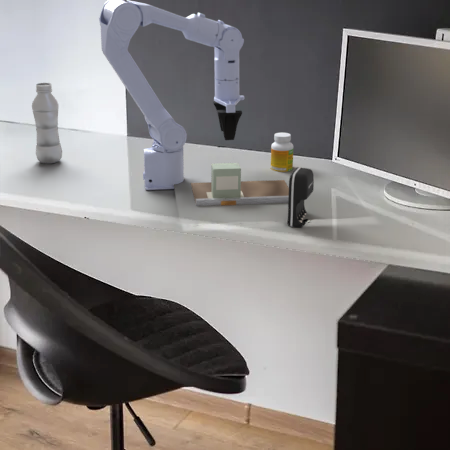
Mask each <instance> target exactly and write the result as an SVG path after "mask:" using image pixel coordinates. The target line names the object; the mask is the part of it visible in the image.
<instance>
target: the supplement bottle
mask: <svg viewBox="0 0 450 450" xmlns="http://www.w3.org/2000/svg"><path fill="white" fill-rule="evenodd" d="M273 139H274V142H273V143H271V147H270V169H271V170H272V171H274V172H279V173H280V172H281V173H285V172H290V171H293V169H294V167H293V165H294V144H293V143H292V142H291V140H292V135H291V133H288V132H276V133H274V137H273Z"/></svg>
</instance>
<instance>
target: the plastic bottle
mask: <svg viewBox="0 0 450 450" xmlns="http://www.w3.org/2000/svg"><path fill="white" fill-rule="evenodd" d="M35 87H36V88H35V91H36V93H37V94H36V95H35V97H34V99H33V101H32V104H31V108H32V109H31V110H32V114H33V119H34V123H35V129H36V130H35V131H36V145H35V156H36V158H37V159H36V160H37V161H38V162H39V163H41V164H54V163H58V162H60V161H61V159H62V157H63V148H62V145H61V142H60V135H59V127H58V126H59V123H58V122H59V103H58V100H57V99H56V97H55V96H54V94H53V93H52V92H53V88H52V83H50V82H38V83H36V86H35Z"/></svg>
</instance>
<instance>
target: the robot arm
mask: <svg viewBox="0 0 450 450" xmlns="http://www.w3.org/2000/svg"><path fill="white" fill-rule="evenodd" d="M99 14H100V15H99V17H98V20H99V25H100V40H101V41H100V42H101V51H102V53H103V55H104V56H105V58H106V60H107V62H108V63H109V64H110V66H111V68H112V69H113V70H114V72H115V73H116V75H117V77H118V78H119V79H120V82H121V83H122V84H123V85H124V87H125V89H126V90H127V92H128V93H129V95H130V96H131V98H132V99H133V101H134V103H135V104H136V106H137V107H138V109H139V110H140V112H141V113H142V114H143V116H144V120H145V122H146V123H147V127H148V133H149V135H150V137H151V138H152V139H153V142H152V145H151V147H147V148H143V169H144V171H143V172H142V178H143V180H144V190H146V191H152V190H155V191H157V190H158V191H159V190H175V186H174V185H177V184H181V183H183V182H184V180H185V177H184V176H185V175H184V174H185V173H184V169H185V167H184V146H185V144H186V142H187V138H188V135H187V131H186V129H185V127H184V126H182V125H181V124H179V123H177V122H176V121H175V119H174V118H173V116H172V115H171V114H170V113H169V112H168V111H167V109H166V108H165V107H164V106H163V104H162V102H161V101H160V99H159V97H158V95H157V94H156V93H155V91H154V90H153V88H152V87H151V85H150V84H149V81H148V80H147V79H146V77H145V75H144V73H143V72H142V70H141V69H140V67H139V66H138V64H137V63H136V61H135V60H134V58H133V57H132V55H131V53H130V52H129V50H128V49H129V46H130V42H131V39H132V37H133V36H134V35H135V34H136V31H138V29H139V27H142V28H144V27H146V26H149V25H150V24H155V25H158V26H162V27H165V28H169V29H173V30H176V31H180V32H182V34H183V36H184V38H185V40H188V41H190V42H191V41H192V42H195V43H196V44H197V43H198V44H200V45H201V44H202V45H205V46H207V47H211V48H212V47H213V48H214V49H213V51H214V60H213V61H214V97H213V101H212V104H213V105H214V107H215V110H216V113H217V117H218V121H219V122H218V123H219V128H220V131H221V132H222V134H223V138H224V140H225V141H234V140H235V137H236V133H237V128H238V124H239V120H240V119H241V116H242V115H243V111H242V110H236V107H237V104H238V103H239V102H240V101H244V100H245V95H240V51H241V49H242V48H243V45H244V43H245V39H244V38H243V35H242V32H241V31H240V29H238V28H237V27H235V26H233V25H230V24H226V23H225V22H224V21H223V20H220V19H218V20H214V19H211V18H207V17H206V14H204V13H201V12H197V14H195V13H191V14H190V15H188V16H186V17H185V16H182V15H179V14H177V13H173V12H171V11H168V10H166V9H163V8H159V7H157V6H154V5H151V4H148V3H144V2H138V1H134V0H126V1H125V0H107V1H105V2H104V4H103V6H102V7H101V11H100V13H99Z"/></svg>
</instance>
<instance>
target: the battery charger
mask: <svg viewBox="0 0 450 450" xmlns="http://www.w3.org/2000/svg"><path fill="white" fill-rule="evenodd" d="M288 179H289V180H288V187H289V198H288V203H287V205H288V206H287V209H288V210H287V212H288V213H287V226H288V227H292V228H293V227H294V228H296V227H297V228H301V227H303V226H304V225H305V224H306V223H307V221H309V218H305V217H306V216H305V215H307V214H308V212H307V211H306V207H305V200H307V199H308V198H309V197H310V196H311V195H312V193H313V191H314V188H315V187H314V182H315V181H314V172H313V170H312V169H311V168H307V167H301V166H297V167H295V168H294V170H292V172H291V173H290V175H289V178H288Z"/></svg>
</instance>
